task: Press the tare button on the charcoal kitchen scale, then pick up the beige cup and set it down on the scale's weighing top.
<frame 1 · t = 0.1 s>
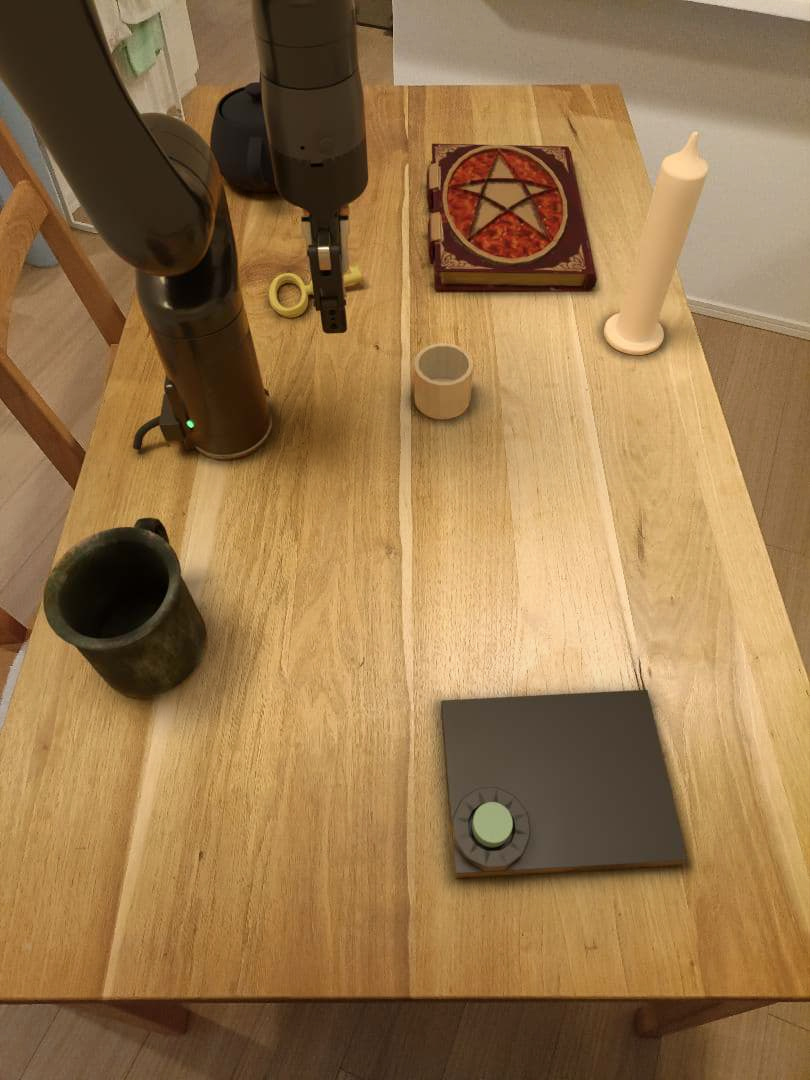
hand: (335, 299, 72), 17 cm above the table, tool pointing down, fingers open, 8 cm apart
teapot: (270, 170, 114), on the table
scale: (553, 782, 64), on the table
key: (314, 295, 98), on the table
candle: (632, 336, 94), on the table
tare button: (492, 824, 59), point 4 cm above the table, slide at 0.1 cm
beige cup: (442, 398, 88), on the table
mug: (159, 632, 73), on the table
book: (503, 224, 106), on the table
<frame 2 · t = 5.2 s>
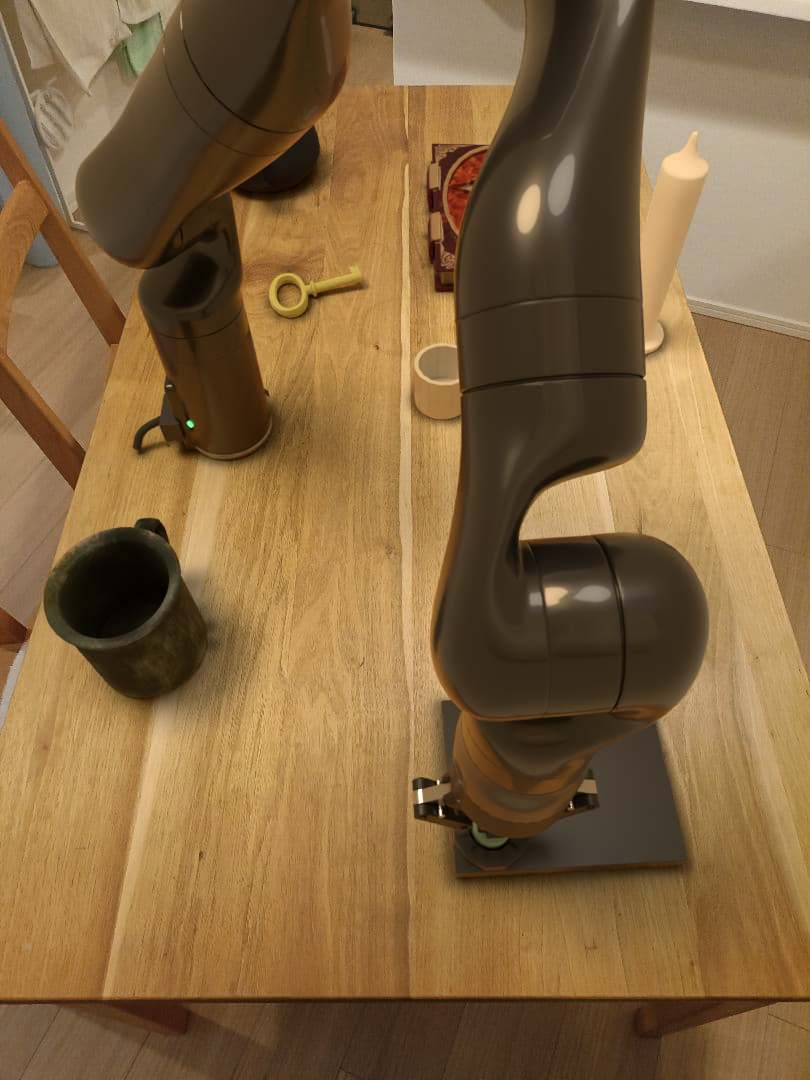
hand: (493, 824, 59), 4 cm above the table, tool pointing down, fingers closed
tare button: (491, 826, 59), point 3 cm above the table, slide at -0.6 cm, touching gripper
everything else where it was.
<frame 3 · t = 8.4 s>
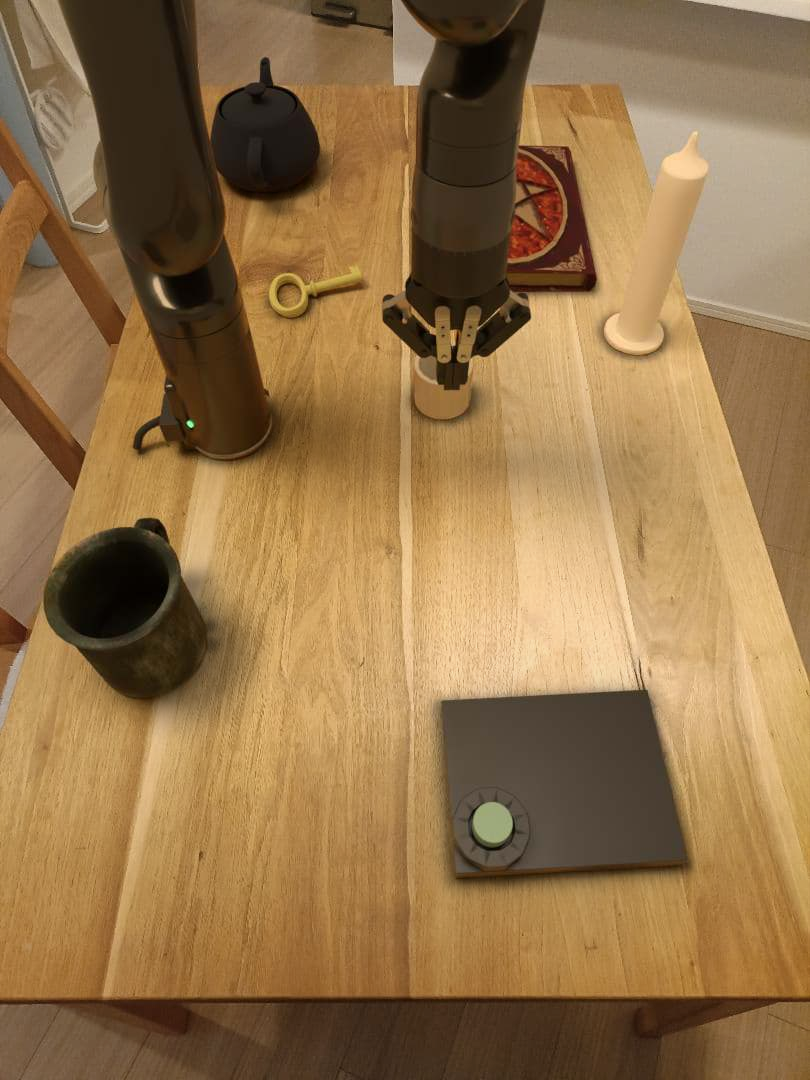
hand: (450, 383, 71), 13 cm above the table, tool pointing down, fingers closed
tare button: (492, 824, 59), point 4 cm above the table, slide at 0.1 cm
everything else where it was.
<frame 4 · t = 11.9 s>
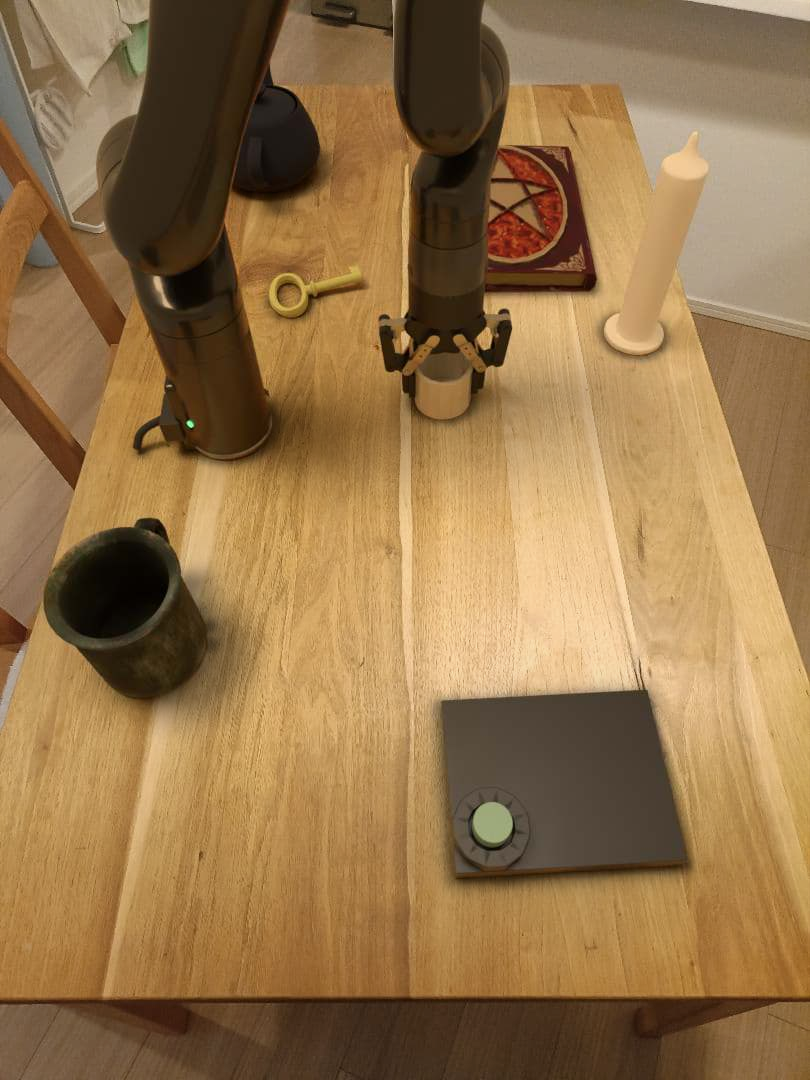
hand: (442, 390, 87), 1 cm above the table, tool pointing down, fingers closed on beige cup, 6 cm apart
beige cup: (442, 398, 88), on the table, touching gripper
everything else where it was.
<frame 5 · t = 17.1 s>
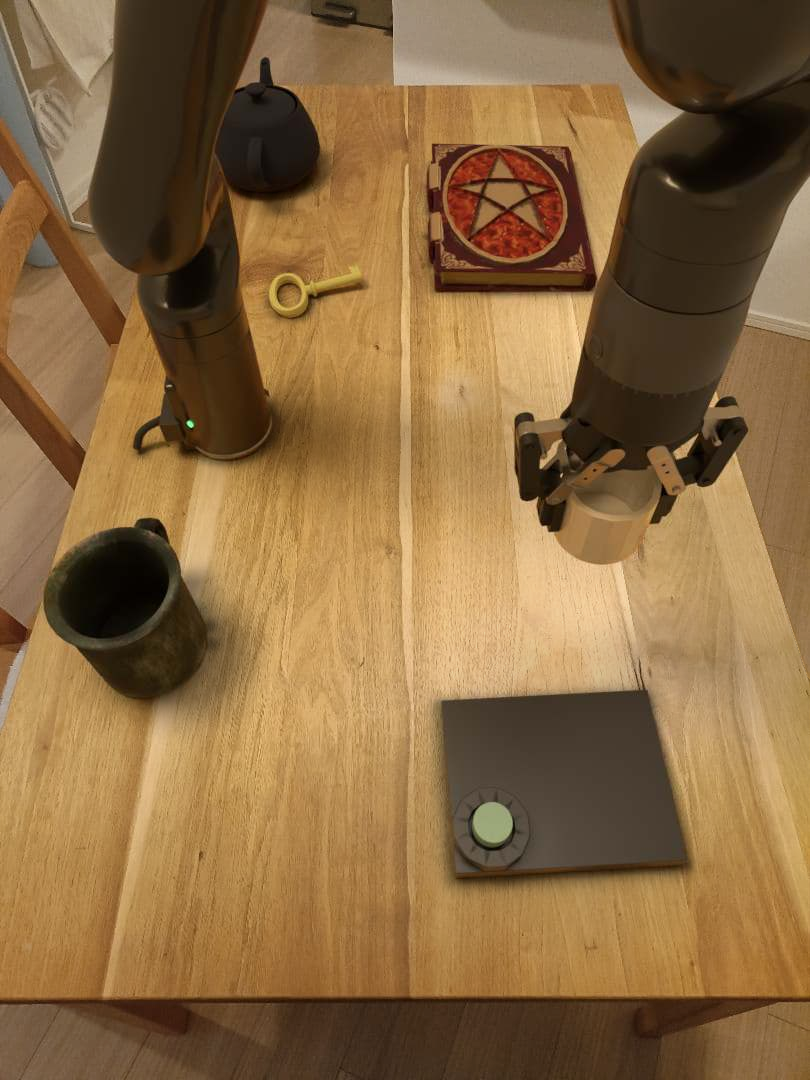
hand: (599, 517, 54), 20 cm above the table, tool pointing down, fingers closed on beige cup, 6 cm apart
beige cup: (596, 527, 56), point 19 cm above the table, touching gripper
everything else where it was.
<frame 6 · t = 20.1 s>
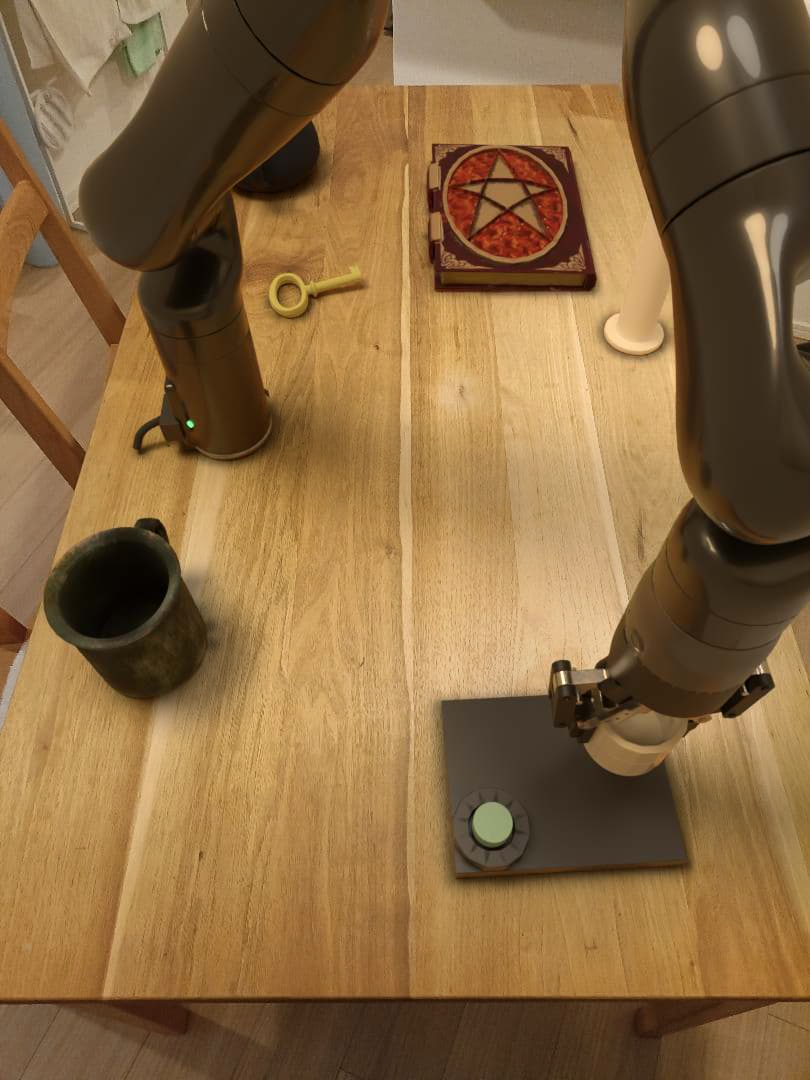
hand: (626, 727, 57), 10 cm above the table, tool pointing down, fingers closed on beige cup, 6 cm apart
beige cup: (623, 733, 58), point 9 cm above the table, touching gripper
everything else where it was.
when the fingers open (3 cm above the table, at t = 22.3 s): beige cup stays where it is, resting on scale.
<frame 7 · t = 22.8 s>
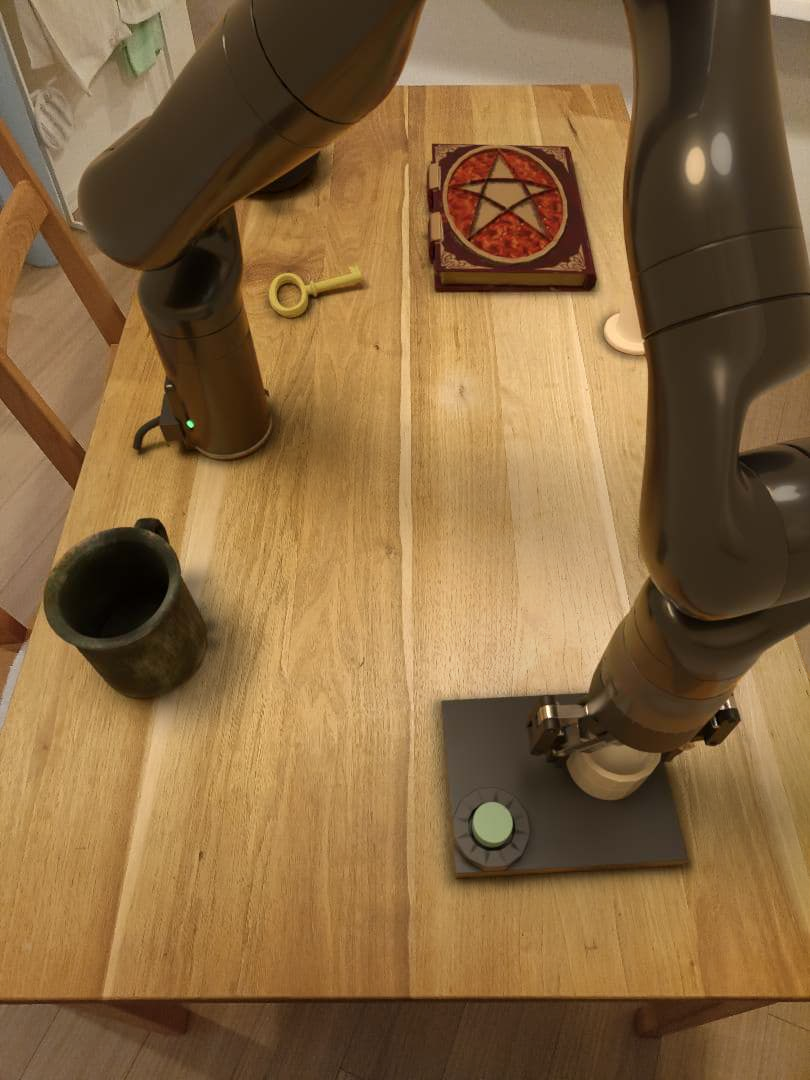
hand: (608, 753, 62), 4 cm above the table, tool pointing down, fingers open, 8 cm apart
beige cup: (604, 760, 63), point 2 cm above the table, touching scale
everything else where it was.
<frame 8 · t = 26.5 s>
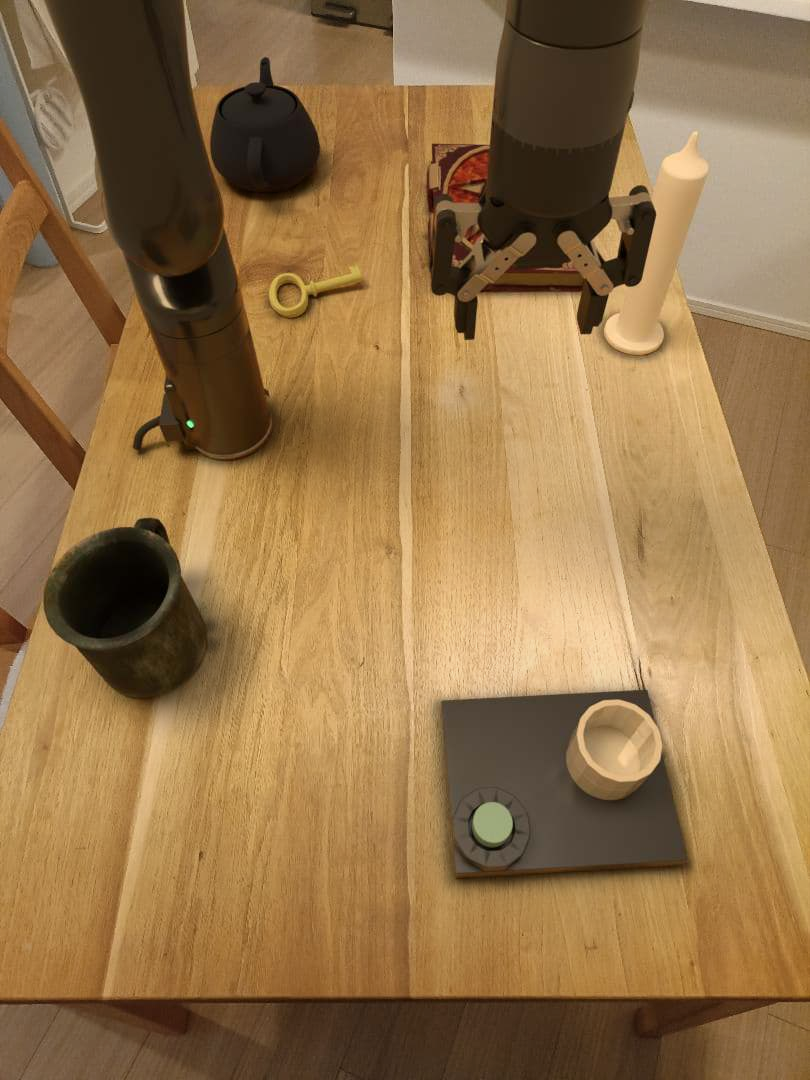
hand: (525, 329, 57), 26 cm above the table, tool pointing down, fingers open, 8 cm apart
nothing on the table moved.
at the end: tare button pushed in 0.9 cm at the most during the clip, back to where it started at the end; beige cup inside the target area on the scale (1.6 cm from its centre), point 1.9 cm above the scale's base; beige cup touching scale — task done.
